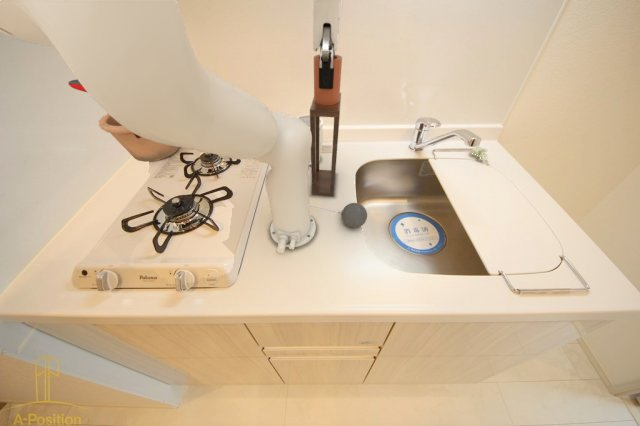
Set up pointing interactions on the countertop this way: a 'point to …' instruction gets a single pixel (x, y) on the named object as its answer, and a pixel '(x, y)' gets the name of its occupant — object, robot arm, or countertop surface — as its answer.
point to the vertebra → (480, 151)
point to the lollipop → (353, 215)
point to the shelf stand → (320, 178)
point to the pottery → (136, 142)
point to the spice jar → (333, 94)
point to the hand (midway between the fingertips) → (327, 82)
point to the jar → (307, 120)
